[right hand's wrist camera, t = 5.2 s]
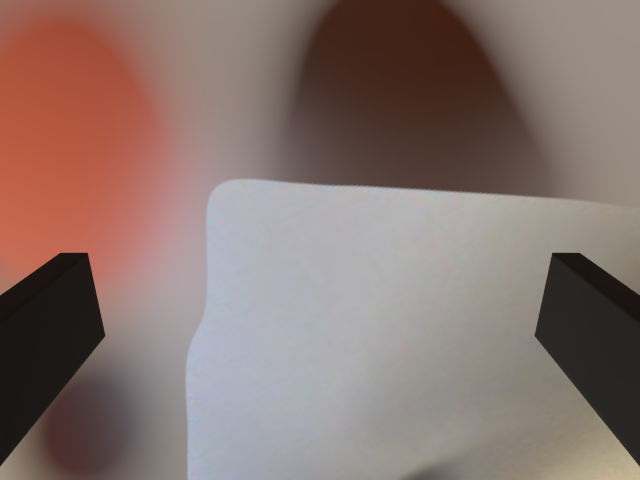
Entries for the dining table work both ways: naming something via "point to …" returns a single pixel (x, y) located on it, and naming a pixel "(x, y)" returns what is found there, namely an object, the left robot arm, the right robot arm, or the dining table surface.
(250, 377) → the dining table surface
